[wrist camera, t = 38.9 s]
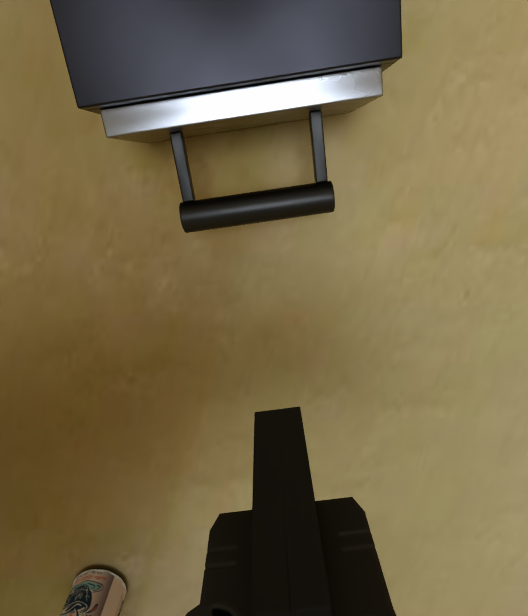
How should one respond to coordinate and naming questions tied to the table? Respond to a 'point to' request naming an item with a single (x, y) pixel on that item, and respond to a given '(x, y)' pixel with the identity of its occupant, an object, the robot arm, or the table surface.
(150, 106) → the drawer
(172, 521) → the table surface
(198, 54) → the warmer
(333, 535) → the robot arm
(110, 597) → the beer can
